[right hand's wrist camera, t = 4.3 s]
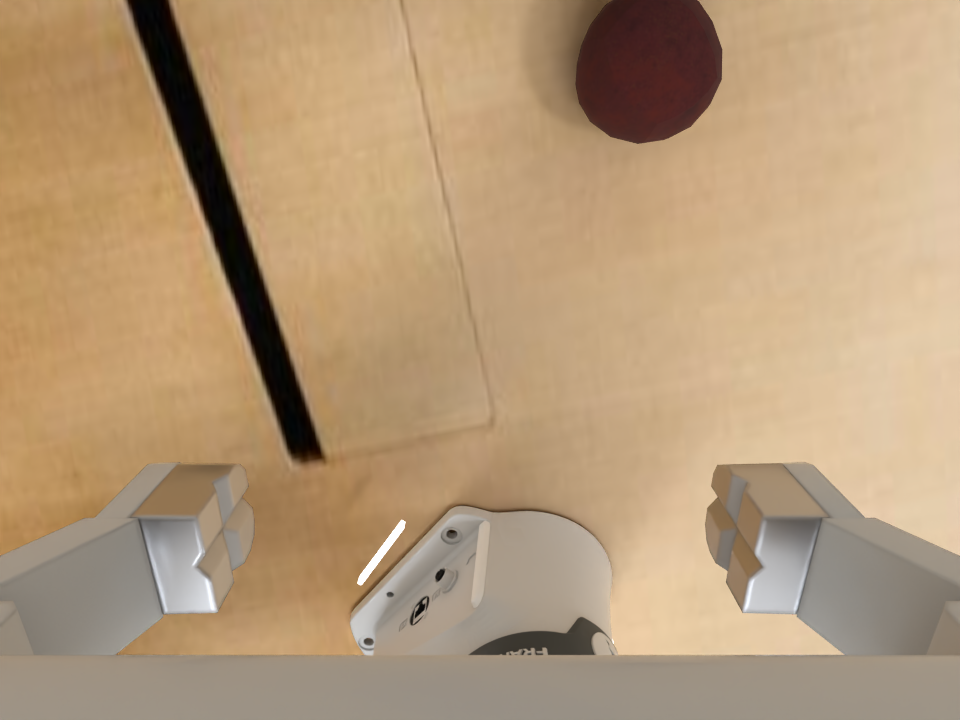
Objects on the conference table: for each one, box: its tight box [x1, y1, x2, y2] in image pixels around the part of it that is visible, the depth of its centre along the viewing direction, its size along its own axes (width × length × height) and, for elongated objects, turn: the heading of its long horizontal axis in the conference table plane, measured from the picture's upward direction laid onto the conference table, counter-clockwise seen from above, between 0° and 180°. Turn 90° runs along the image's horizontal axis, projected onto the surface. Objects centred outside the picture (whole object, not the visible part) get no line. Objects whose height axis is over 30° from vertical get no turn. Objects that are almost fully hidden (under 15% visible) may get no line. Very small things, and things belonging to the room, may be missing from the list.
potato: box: [576, 0, 722, 144], centre depth 32 cm, size 7×8×7 cm
